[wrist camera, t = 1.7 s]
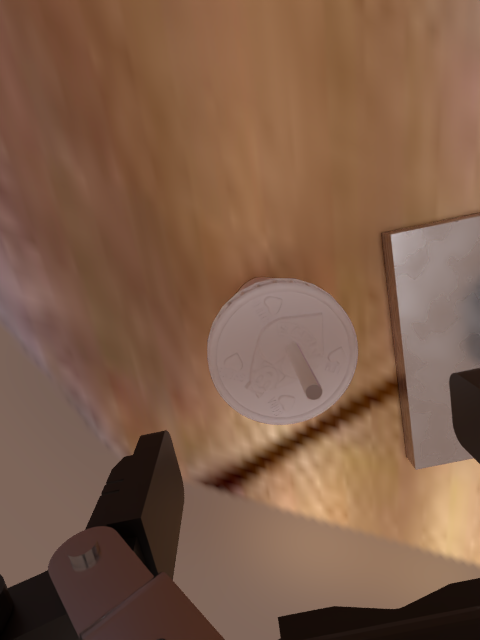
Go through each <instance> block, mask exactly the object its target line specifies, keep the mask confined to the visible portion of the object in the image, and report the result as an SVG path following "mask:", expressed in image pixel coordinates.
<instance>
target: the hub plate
mask: <svg viewBox="0 0 480 640" xmlns="http://www.w3.org/2000/svg"><path fill="white" fill-rule="evenodd" d="M381 234H382V243H383V252H384V261H385V270H386V279H387V288H388V296H389V305H390V314H391V323H392V332H393V341H394V350H395V359H396V368H397V377H398V386H399V395H400V404H401V413H402V422H403V431H404V440H405V449H406V457H407V458H408V460H409V461H410V463H411V464H412V465H413V467H414V468H415V469H421V468H426V467H432V466H437V465H442V464H447V463H452V462H457V461H462V460H467V459H472V458H473V457H472V456H471V455H470V454H469V453H468V452H467V451H466V450H465V449H464V448H463V447H462V446H461V444H460V443H459V441H458V439H457V437H456V435H455V432H454V429H453V423H452V411H451V399H450V387H449V378H450V375H451V374H452V373H456V372H461V371H466V370H471V369H476V368H480V213H476V214H471V215H466V216H461V217H457V218H452V219H447V220H442V221H437V222H433V223H428V224H423V225H418V226H413V227H408V228H404V229H399V230H394V231H389V232H384V233H381Z"/></svg>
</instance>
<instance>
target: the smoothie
mask: <svg viewBox="0 0 480 640" xmlns="http://www.w3.org/2000/svg"><path fill="white" fill-rule="evenodd" d="M357 358H358V343H357V337H356V333H355V330H354V327H353V325H352V322H351V320H350V318H349V317H348V315H347V314H346V312H345V311H344V309H343V308H342V307H341V306H340V305H339V304H338V303H337V301H336V300H335V299H334V298H333V297H332V296H331V295H330V294H329V293H327V292H326V291H324V290H322V289H321V288H319V287H318V286H316V285H314V284H312V283H308V282H305V281H302V280H298V279H295V278H269V277H258V278H254V279H252V280H250V281H248V282H246V283H245V284H244V285H243V286H242V287H241V288H240V289H239V291H238V292H237V293H236V294H235V295H234V296H233V297H232V298H231V299H230V300H229V301H228V302H226V303H225V304H224V305H223V307H222V308H221V310H220V311H219V313H218V315H217V316H216V318H215V320H214V321H213V323H212V327H211V330H210V334H209V337H208V345H207V359H208V365H209V371H210V374H211V378H212V380H213V383H214V385H215V387H216V389H217V391H218V392H219V394H220V395H221V397H222V398H223V399H224V400H225V401H226V402H227V403H228V404H229V405H230V406H231V407H232V408H233V409H234V410H236V411H237V412H239V413H240V414H242V415H244V416H245V417H247V418H250V419H252V420H255V421H258V422H261V423H266V424H274V425H286V424H294V423H299V422H303V421H306V420H309V419H311V418H313V417H315V416H317V415H319V414H321V413H323V412H324V411H326V410H327V409H328V408H330V407H331V406H332V405H333V404H334V403H335V402H336V401H337V400H338V399H339V398H340V397H341V396H342V395H343V393H344V392H345V390H346V389H347V387H348V386H349V384H350V382H351V380H352V378H353V375H354V372H355V369H356V365H357Z"/></svg>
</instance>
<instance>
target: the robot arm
mask: <svg viewBox="0 0 480 640" xmlns="http://www.w3.org/2000/svg"><path fill="white" fill-rule="evenodd" d="M449 387H450V399H451V411H452V423H453V429H454V432H455V435H456V437H457V439H458V441H459V443H460V444H461V446H462V447H463V448H464V449H465V450H466V451H467V452H468V453H469V454H470V455H471V456H472V457H473V458H474V459H475V460H476V461H477V462H478V463H480V368H476V369H471V370H466V371H461V372H456V373H452V374H451V375H450V378H449ZM183 505H184V487H183V481H182V476H181V473H180V469H179V465H178V462H177V458H176V454H175V451H174V447H173V443H172V440H171V437H170V434H169V432H168V431H167V430H166V431H161V432H156V433H151V434H146V435H142V436H140V438H139V441H138V443H137V446H136V448H135V451H134V454H133V455H131V456H126V457H124V458H123V459H122V460H121V461H120V462H119V463H118V464H117V465H116V466H115V467H114V468H113V469H112V471H111V473H110V475H109V477H108V480H107V482H106V485H105V486H104V489H103V491H102V496H100V498H99V500H98V502H97V504H96V507H95V509H94V511H93V513H92V516H91V518H90V520H89V522H88V525H87V527H86V529H85V530H84V531H82V532H80V533H78V534H76V535H74V536H72V537H71V538H69V539H68V540H67V541H66V542H64V543H63V544H62V545H61V546H60V547H59V548H58V549H57V551H56V552H55V553H54V554H53V556H52V558H51V560H50V562H49V566H48V570H47V571H45V572H44V573H41V574H39V575H37V576H35V577H32V578H30V579H28V580H26V581H23V582H21V583H19V584H17V585H14V586H12V587H10V588H7V586H6V584H5V581H4V579H3V577H2V576H1V575H0V640H225V639H224V638H223V637H222V636H221V635H220V634H219V633H218V632H217V630H216V629H215V628H214V627H213V626H212V625H211V624H210V622H209V621H208V620H207V619H206V618H205V617H204V616H203V615H202V613H201V612H200V611H199V610H198V609H197V608H196V607H195V605H194V604H193V603H192V602H191V601H190V600H189V599H188V597H187V596H186V595H185V594H184V593H183V592H182V591H181V589H180V588H179V587H178V586H177V585H176V584H175V583H174V582H173V574H174V567H175V561H176V554H177V546H178V540H179V533H180V525H181V519H182V512H183ZM278 621H279V628H280V636H281V638H280V639H279V640H480V578H478V579H472V580H468V581H462V582H457V583H452V584H449V585H447V586H445V587H443V588H441V589H439V590H437V591H435V592H433V593H431V594H429V595H427V596H425V597H423V598H421V599H419V600H417V601H415V602H412V603H410V604H408V605H406V606H405V607H402V608H399V609H377V608H357V607H337V606H334V607H329V608H323V609H318V610H312V611H307V612H302V613H297V614H292V615H286V616H282V617H278Z"/></svg>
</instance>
